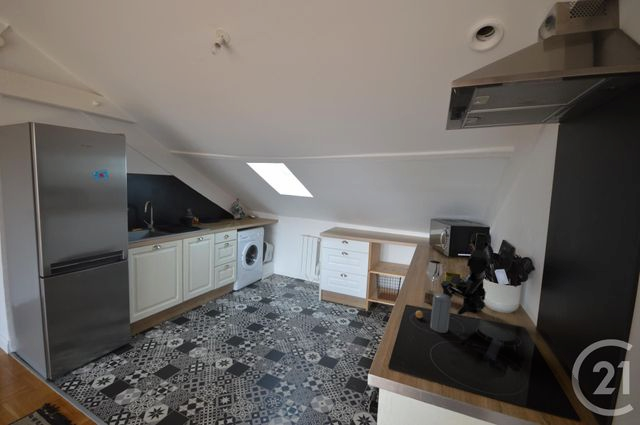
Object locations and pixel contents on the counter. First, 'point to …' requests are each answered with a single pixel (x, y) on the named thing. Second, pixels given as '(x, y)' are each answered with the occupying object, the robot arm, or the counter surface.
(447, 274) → the flower pot
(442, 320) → the tumbler
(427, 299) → the walnut block
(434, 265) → the wineglass
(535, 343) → the counter surface
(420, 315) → the ball
